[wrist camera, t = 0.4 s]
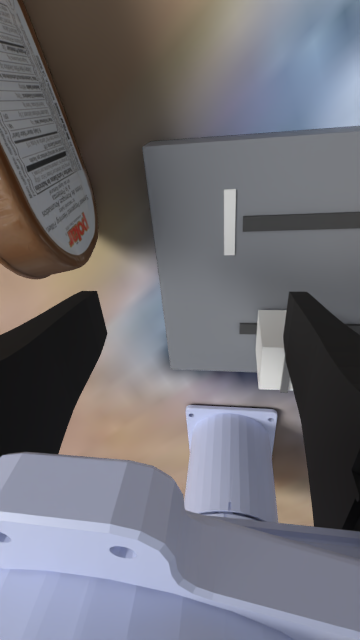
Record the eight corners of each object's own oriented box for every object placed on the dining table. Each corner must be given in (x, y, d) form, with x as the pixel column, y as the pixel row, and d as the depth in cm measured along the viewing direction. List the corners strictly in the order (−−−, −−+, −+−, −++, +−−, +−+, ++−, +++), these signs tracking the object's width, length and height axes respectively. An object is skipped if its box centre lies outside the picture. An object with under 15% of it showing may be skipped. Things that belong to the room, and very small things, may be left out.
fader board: (499, 360, 23) (522, 383, 21) (174, 351, 26) (170, 371, 25) (664, 103, 14) (725, 105, 13) (150, 141, 18) (141, 147, 16)
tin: (-68, -88, 14) (-355, -255, 7) (-7, -122, 13) (-264, -345, 6) (77, 242, 22) (7, 313, 15) (120, 234, 21) (67, 303, 14)
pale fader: (298, 350, 22) (309, 393, 19) (255, 349, 22) (259, 391, 19) (305, 310, 20) (318, 351, 17) (258, 309, 20) (262, 349, 17)
